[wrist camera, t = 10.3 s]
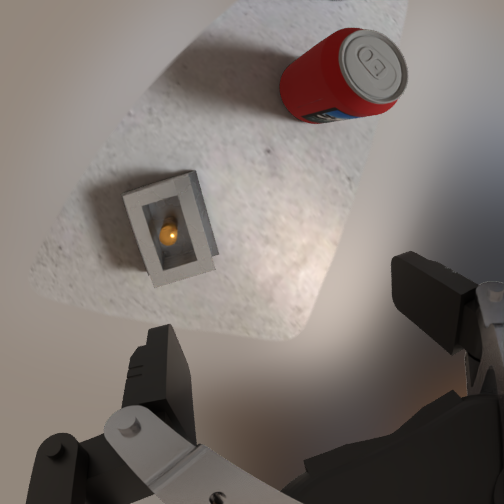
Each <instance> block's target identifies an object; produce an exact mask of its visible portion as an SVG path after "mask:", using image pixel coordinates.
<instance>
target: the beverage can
mask: <svg viewBox="0 0 504 504" xmlns="http://www.w3.org/2000/svg"><path fill="white" fill-rule="evenodd" d="M407 83H408V68H407V64H406V61H405V59H404V56H403V54H402V53H401V51H400V49H399V48H398V47H397V46H396V44H395V43H394V42H393V41H392V40H391V39H389V38H388V37H387V36H385V35H383V34H382V33H379V32H377V31H374V30H367V29H360V28H344V29H341V30H338V31H336V32H335V33H333V34H331V35H330V36H328V37H327V38H325V39H324V40H323V41H321V42H320V43H318V44H317V45H315V46H314V47H313V48H311V49H310V50H309V51H307V52H306V53H304V54H303V55H302V56H300V57H299V58H298V59H297V60H295V61H294V62H293V63H292V64H291V65H289V66H288V67H287V68H286V70H285V71H284V72H283V74H282V77H281V80H280V95H281V98H282V101H283V103H284V105H285V106H286V108H287V109H288V111H289V112H290V113H291V114H292V115H294V116H295V117H296V118H298V119H300V120H302V121H304V122H307V123H311V124H321V123H328V122H334V121H341V120H347V119H353V118H360V117H366V116H372V115H378V114H382V113H384V112H386V111H387V110H389V109H390V108H391V107H392V106H393V105H394V104H395V103H396V102H397V100H398V98H400V97H401V96H402V94H403V93H404V91H405V89H406V87H407Z"/></svg>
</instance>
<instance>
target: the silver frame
mask: <svg viewBox="0 0 504 504" xmlns="http://www.w3.org/2000/svg"><path fill="white" fill-rule="evenodd" d="M176 195H178V198H179V201H180V204H181V208H182V211H183V215H184V218H185V221H186V225H187V228H188V231H189V235H190V238H191V241H192V244H193V248H194V249H193V250H189V251H186V252H183V253H179V254H176V255H173V256H170V257H166V258H165V256H164V253H163V250H162V247H161V244H160V241H159V238H158V235H157V232H156V229H155V226H154V223H153V220H152V217H151V213H150V210H149V207H148V204H150V203H153V202H156V201H159V200H163V199H166V198H169V197H172V196H176ZM123 198H124V202H125V205H126V208H127V211H128V214H129V217H130V220H131V224H132V227H133V230H134V233H135V236H136V238H137V241H138V244H139V247H140V250H141V253H142V256H143V258H144V261H145V264H146V267H147V269H148V272H149V275H150V278H151V280H152V283H153V285H154V288H156V287H159V286H163V285H166V284H169V283H173V282H176V281H179V280H183V279H186V278H189V277H193V276H196V275H199V274H203V273H206V272H209V271H213V270H216V269H215V266H214V262H213V259H212V255H211V252H210V249H209V245H208V242H207V239H206V235H205V232H204V228H203V225H202V221H201V218H200V215H199V211H198V208H197V204H196V200H195V197H194V193H193V190H192V186H191V183H190V179H189V175H188V173H187V174H184V175H180V176H177V177H174V178H170V179H167V180H164V181H161V182H158V183H154V184H151V185H148V186H145V187H142V188H139V189H136V190H133V191H130V192H129V193H127V194H126V195H124V196H123Z"/></svg>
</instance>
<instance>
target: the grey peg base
mask: <svg viewBox="0 0 504 504" xmlns="http://www.w3.org/2000/svg"><path fill="white" fill-rule="evenodd" d="M185 174H187V173H185ZM181 175H184V174H181ZM188 175H189V179H190V183H191V186H192V190H193V193H194V197H195V200H196V204H197V208H198V211H199V215H200V218H201V221H202V225H203V228H204V232H205V235H206V239H207V242H208V245H209V249H210V252H211V255H212V256H215V255H219V252H218V249H217V245H216V242H215V238H214V235H213V231H212V228H211V224H210V221H209V217H208V213H207V210H206V206H205V203H204V199H203V195H202V192H201V188H200V184H199V181H198V177H197V173H196V170H195V171H191V172H188ZM178 176H180V175H178ZM174 177H177V176H174ZM174 177H171V178H174ZM168 179H170V178H168ZM165 180H167V179H165ZM161 181H164V180H161ZM161 181H158V182H161ZM158 182H155V183H158ZM152 184H154V183H152ZM149 185H151V184H149ZM146 186H148V185H146ZM142 187H145V186H142ZM142 187H139V188H142ZM139 188H136V189H139ZM136 189H133V190H136ZM133 190H130V191H133ZM130 191H127V192H124V193H122V194H121V196H122V199H123V202H124V198H123V196H124V195H126V194H127V193H129V192H130ZM124 206H125V209H126V212H127V215H128V218H129V221H130V224H131V220H130V217H129V214H128V211H127V208H126V205H125V202H124ZM148 207H149V210H150V213H151V217H152V220H153V223H154V226H155V229H156V232H157V235H158V238H159V241H160V244H161V247H162V250H163V253H164V256H165V258H166V257H170V256H173V255H176V254H179V253H183V252H186V251H189V250H193V249H194V248H193V244H192V241H191V238H190V235H189V231H188V228H187V225H186V221H185V218H184V215H183V211H182V208H181V204H180V201H179V198H178V195H176V196H172V197H169V198H166V199H163V200H159V201H156V202H153V203H150V204H148ZM131 227H132V224H131ZM132 230H133V227H132ZM133 233H134V230H133ZM134 236H135V233H134ZM135 239H136V242H137V245H138V248H139V251H140V254H141V257H142V259H143V262H144V265H145V268H146V270H147V273H148V276H149V272H148V269H147V267H146V264H145V261H144V258H143V256H142V253H141V250H140V247H139V244H138V241H137V238H136V236H135Z"/></svg>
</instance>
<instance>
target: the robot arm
mask: <svg viewBox="0 0 504 504" xmlns="http://www.w3.org/2000/svg"><path fill="white" fill-rule="evenodd" d="M334 1H340V0H334ZM391 273H392V274H391V275H392V276H391V277H392V298H393V302H394V304H395V306H396V308H397V309H398V310H399V311H400V312H401V313H402V314H404V315H405V316H406V317H407V318H408V319H410V320H411V321H412V322H413V323H415V324H416V325H417V326H418V327H419V328H420V329H422V330H423V331H424V332H425V333H426V334H427V335H429V336H430V337H431V338H432V339H433V340H434V341H436V342H437V343H438V344H439V345H440V346H441V347H443V348H444V349H445V350H446V351H447V352H448V353H449V354H450V355H454V354H456V353H457V352H459V351H461V350H462V349H465V350H466V354H465V370H466V382H467V396H466V397H462V398H461V397H459V395H458V394H457V393H456V392H455V391H454V390H451V391H450V392H448V393H446V394H445V395H443V396H442V397H440V398H438V399H436V400H435V401H433V402H432V403H430V404H428V405H426V406H424V407H423V408H422V409H420V410H419V411H418V412H417V413H416V414H415V415H414V416H413V417H412V418H411V419H409V420H408V421H407V422H406V423H405V424H403V425H402V426H401V427H400V428H399V429H398V430H396V431H395V432H394V433H392V434H390V435H387V436H383V437H379V438H374V439H370V440H365V441H361V442H356V443H351V444H346V445H343V446H341V447H338V448H336V449H334V450H331V451H328V452H325V453H323V454H320V455H317V456H314V457H312V458H309V459H306V460H304V465H305V470H306V472H305V473H303V474H301V475H300V476H298V477H297V478H295V479H294V480H292V481H291V482H290V483H289V484H287V485H286V486H285V487H284V488H283V489H282V490H281V491H278V490H276V489H274V488H273V487H271V486H269V485H267V484H265V483H264V482H262V481H260V480H258V479H257V478H255V477H253V476H252V475H250V474H248V473H247V472H245V471H243V470H242V469H240V468H239V467H237V466H236V465H234V464H232V463H231V462H229V461H228V460H226V459H224V458H223V457H222V456H220V455H219V454H217V453H216V452H214V451H213V450H211V449H210V448H208V447H207V446H205V445H203V444H198V445H197V442H196V432H195V421H194V411H193V400H192V399H193V398H192V385H191V375H190V370H189V367H188V363H187V361H186V358H185V356H184V354H183V351H182V349H181V346H180V344H179V341H178V339H177V337H176V334H175V332H174V329H173V327H172V325H171V324H167V325H163V326H159V327H155V328H151V329H149V330H148V336H147V342H146V345H144V346H140V347H138V348H137V349H136V351H135V352H134V353H133V355H132V356H131V358H130V363H129V370H128V373H127V380H126V384H125V390H124V395H123V401H122V408H121V409H120V410H118V411H117V412H115V413H114V414H112V416H111V417H110V418H109V419H108V420H107V422H106V424H105V426H104V433H103V434H101V435H99V436H96V437H94V438H91V439H89V440H86V441H83V442H81V443H79V442H78V441H77V440H76V439H75V437H73V436H72V435H71V434H68V433H57V434H55V435H52V436H50V437H49V438H47V439H46V440H45V441H44V442H43V443H42V444H41V445H40V447H39V449H38V451H37V454H36V458H35V462H34V466H33V471H32V475H31V480H30V484H29V489H28V495H27V500H26V504H130V503H133V502H135V501H138V500H141V499H143V498H146V497H148V496H151V495H153V494H156V496H158V497H159V498H160V499H161V500H162V501H163V502H164V503H165V504H504V283H501V282H496V281H489V282H484V283H482V284H480V285H478V284H476V283H474V282H473V281H471V280H469V279H467V278H465V277H464V276H462V275H460V274H458V273H455V271H453V270H451V269H449V268H448V269H447V267H446V266H444V265H442V264H440V263H438V262H435V261H431V260H428V259H426V258H424V257H422V256H420V255H418V254H417V253H415V252H412V251H409V252H406V253H403V254H400V255H397V256H394V257H393V258H392V261H391Z"/></svg>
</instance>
